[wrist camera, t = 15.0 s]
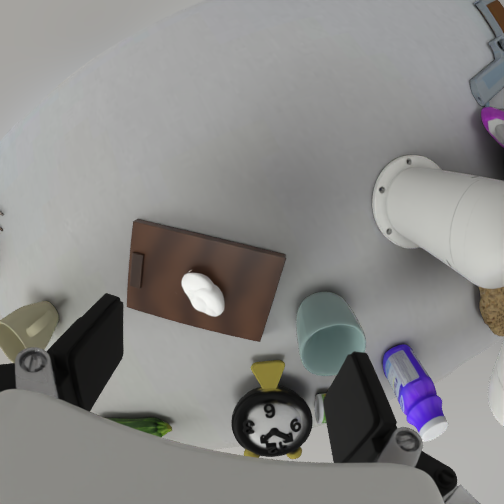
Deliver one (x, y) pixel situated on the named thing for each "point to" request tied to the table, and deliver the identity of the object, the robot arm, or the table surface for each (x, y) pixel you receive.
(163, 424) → the vegetable
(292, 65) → the table surface
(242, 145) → the table surface
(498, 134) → the toy
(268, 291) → the bread board
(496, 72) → the handgun
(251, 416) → the alarm clock
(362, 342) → the cup
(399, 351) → the bottle
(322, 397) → the supplement bottle
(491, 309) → the sponge
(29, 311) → the mug
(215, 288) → the dumpling
